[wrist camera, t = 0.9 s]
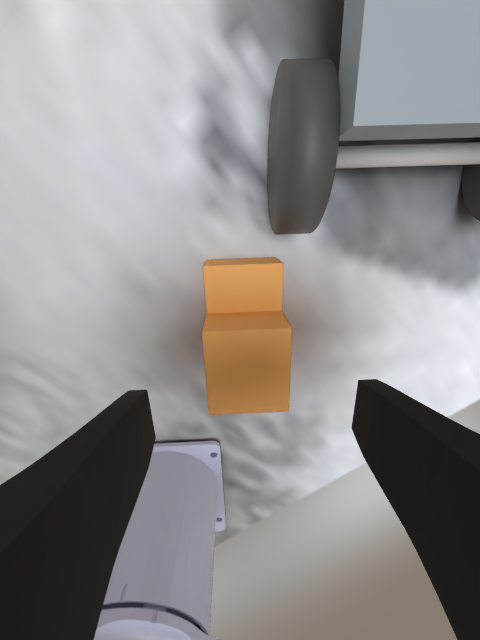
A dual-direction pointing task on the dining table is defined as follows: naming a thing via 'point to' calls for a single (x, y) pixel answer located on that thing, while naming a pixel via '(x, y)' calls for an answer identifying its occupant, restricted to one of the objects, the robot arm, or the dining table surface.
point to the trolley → (376, 104)
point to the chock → (246, 336)
